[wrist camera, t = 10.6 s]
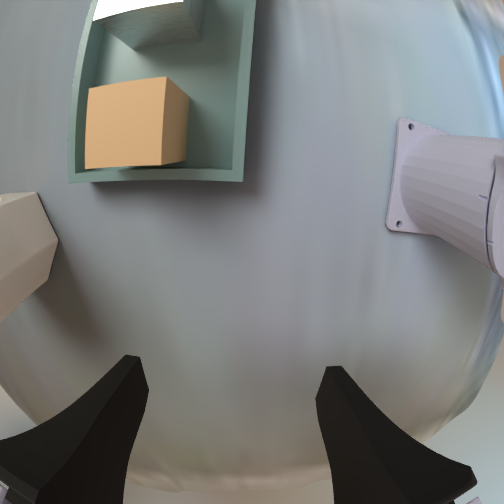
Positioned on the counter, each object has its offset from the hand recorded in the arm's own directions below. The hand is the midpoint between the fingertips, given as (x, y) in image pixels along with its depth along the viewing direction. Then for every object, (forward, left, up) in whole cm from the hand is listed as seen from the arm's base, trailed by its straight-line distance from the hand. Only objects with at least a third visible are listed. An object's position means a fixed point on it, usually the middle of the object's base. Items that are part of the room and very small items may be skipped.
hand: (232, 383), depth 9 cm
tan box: (+6, -10, -9) cm, 14 cm away
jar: (+19, -2, -10) cm, 22 cm away
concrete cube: (+6, -18, -9) cm, 21 cm away
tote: (+6, -14, -10) cm, 18 cm away
